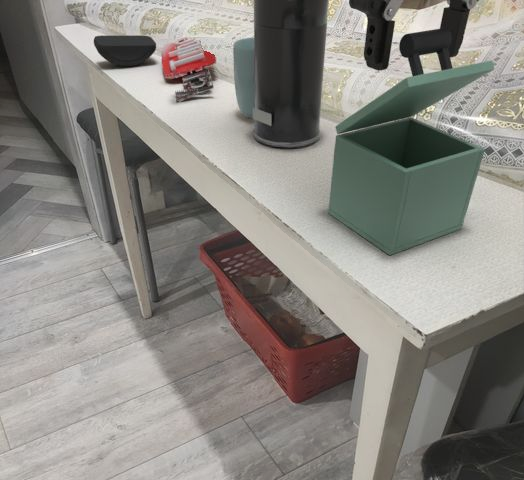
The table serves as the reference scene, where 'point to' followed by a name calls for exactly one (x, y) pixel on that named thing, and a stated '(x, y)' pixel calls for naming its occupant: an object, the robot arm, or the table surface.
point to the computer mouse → (125, 49)
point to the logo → (187, 65)
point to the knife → (202, 78)
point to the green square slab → (417, 82)
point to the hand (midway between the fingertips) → (412, 61)
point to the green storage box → (402, 183)
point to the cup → (244, 75)
